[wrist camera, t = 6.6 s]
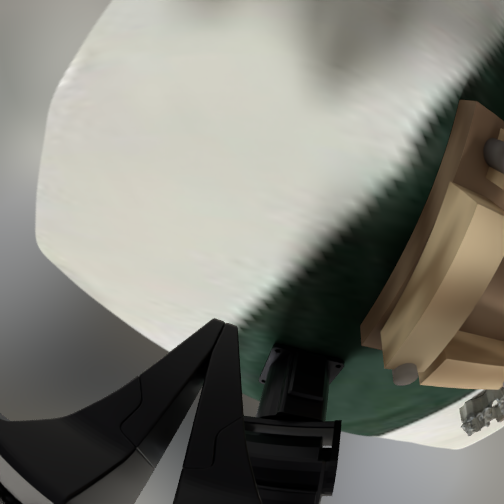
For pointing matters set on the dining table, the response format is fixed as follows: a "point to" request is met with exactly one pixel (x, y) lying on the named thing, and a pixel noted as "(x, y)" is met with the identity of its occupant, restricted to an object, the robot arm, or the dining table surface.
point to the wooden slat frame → (451, 169)
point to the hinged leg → (444, 282)
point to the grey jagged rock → (482, 411)
